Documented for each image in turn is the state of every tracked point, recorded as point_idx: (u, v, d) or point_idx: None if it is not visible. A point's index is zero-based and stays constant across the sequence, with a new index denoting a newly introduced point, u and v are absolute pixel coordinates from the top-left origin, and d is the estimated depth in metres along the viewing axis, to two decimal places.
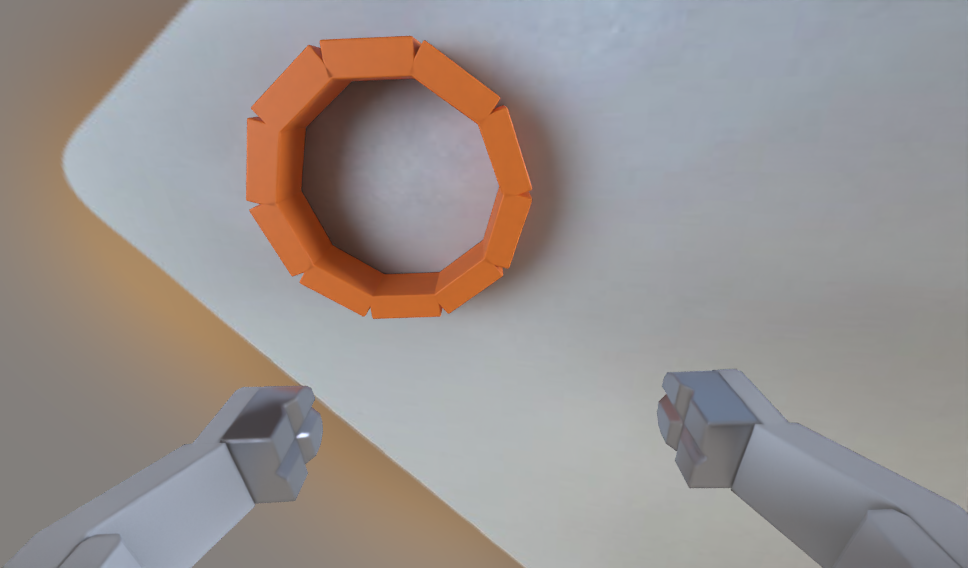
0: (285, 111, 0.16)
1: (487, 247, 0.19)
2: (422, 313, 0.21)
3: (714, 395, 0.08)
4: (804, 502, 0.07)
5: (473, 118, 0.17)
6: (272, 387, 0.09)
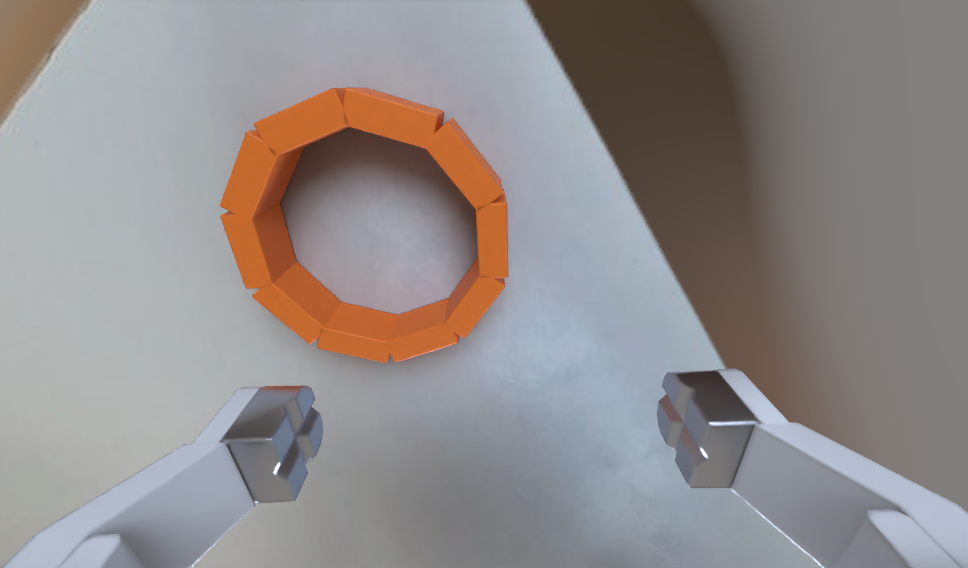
0: (446, 159, 0.16)
1: (336, 330, 0.20)
2: (244, 271, 0.18)
3: (714, 395, 0.08)
4: (804, 501, 0.07)
5: (448, 320, 0.20)
6: (272, 387, 0.09)
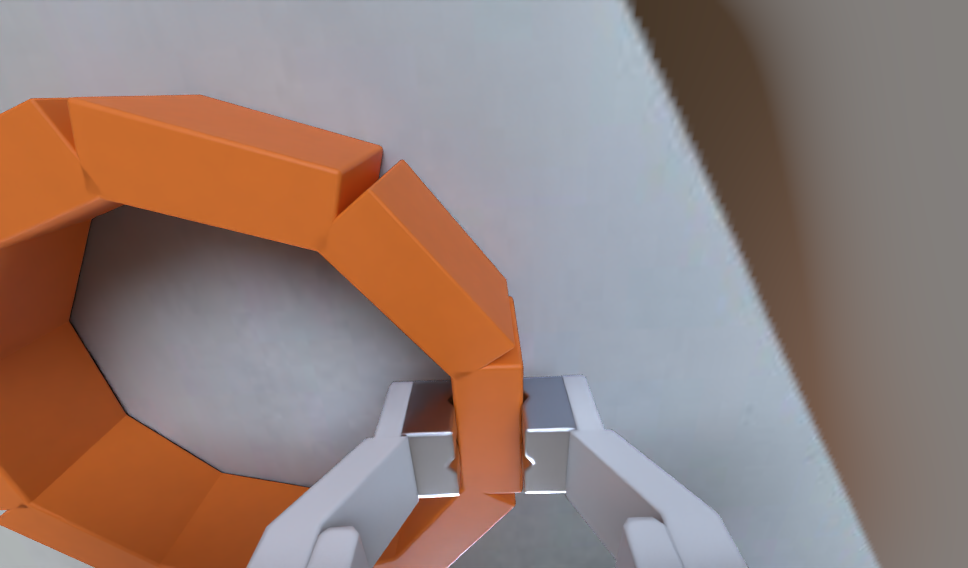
0: (372, 276, 0.06)
1: None
2: None
3: (546, 401, 0.08)
4: (607, 508, 0.07)
5: (403, 553, 0.10)
6: (423, 381, 0.09)
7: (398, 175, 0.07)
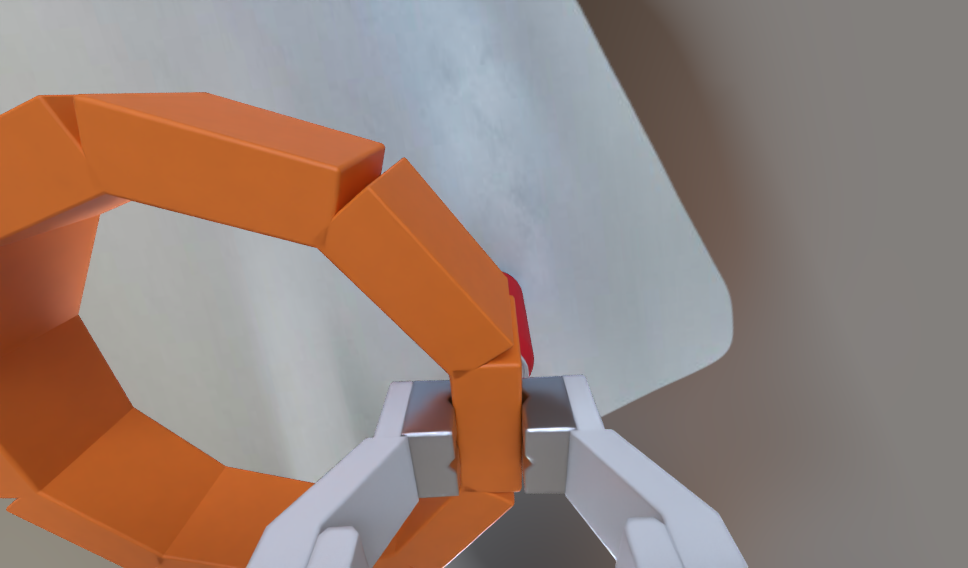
0: (371, 273, 0.06)
1: (187, 559, 0.10)
2: None
3: (546, 401, 0.08)
4: (607, 508, 0.07)
5: (402, 550, 0.10)
6: (423, 381, 0.09)
7: (399, 173, 0.07)
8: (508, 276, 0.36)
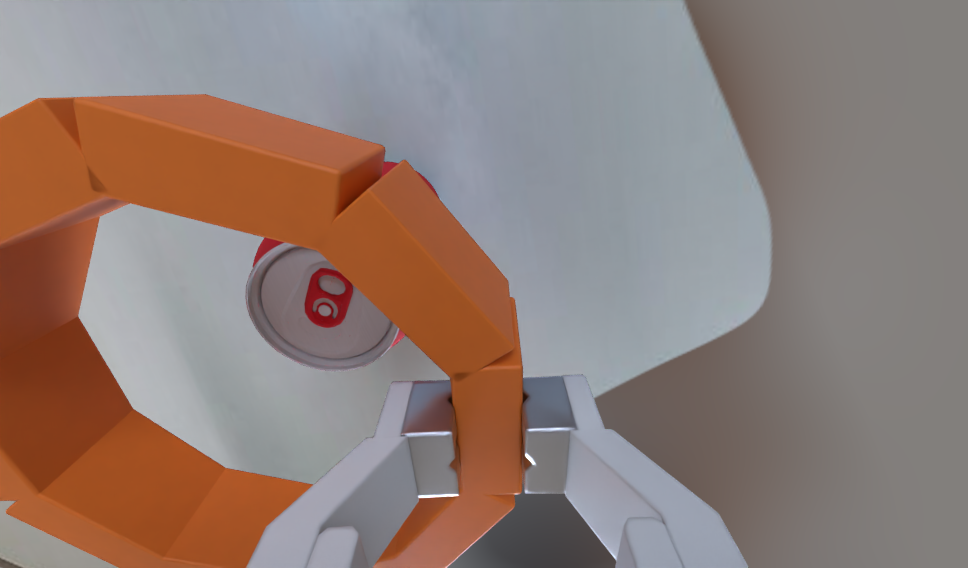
0: (372, 276, 0.06)
1: (187, 561, 0.10)
2: None
3: (546, 401, 0.08)
4: (607, 508, 0.07)
5: (402, 552, 0.10)
6: (423, 381, 0.09)
7: (399, 175, 0.07)
8: None
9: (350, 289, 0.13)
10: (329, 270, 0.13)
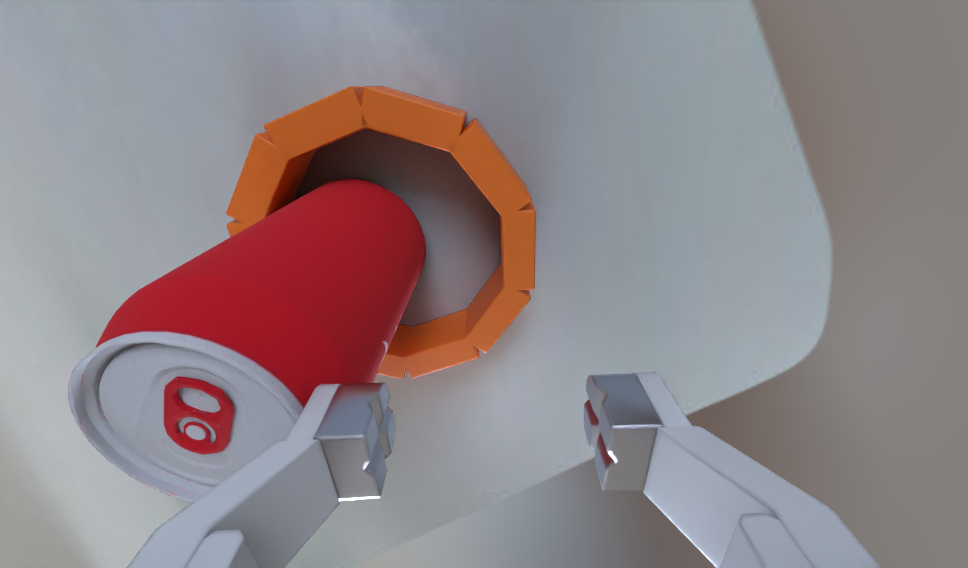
0: (471, 163, 0.15)
1: None
2: None
3: (626, 398, 0.08)
4: (701, 505, 0.07)
5: (469, 334, 0.19)
6: (350, 384, 0.09)
7: (478, 123, 0.16)
8: (386, 193, 0.17)
9: (230, 405, 0.08)
10: (190, 381, 0.08)
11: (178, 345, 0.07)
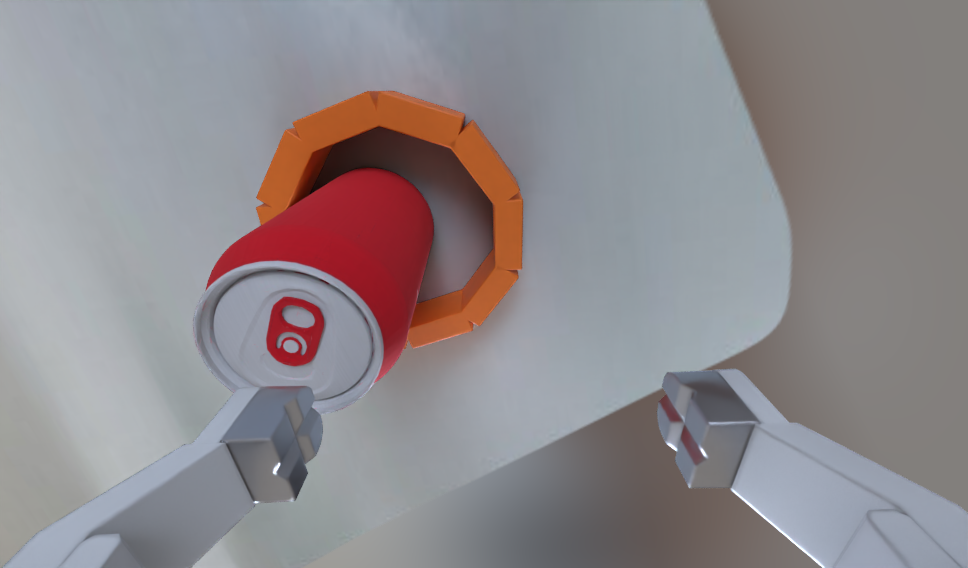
0: (469, 158, 0.18)
1: None
2: None
3: (714, 395, 0.08)
4: (804, 501, 0.07)
5: (464, 308, 0.21)
6: (272, 387, 0.09)
7: (474, 124, 0.18)
8: (400, 178, 0.20)
9: (321, 320, 0.11)
10: (294, 300, 0.10)
11: (291, 268, 0.10)
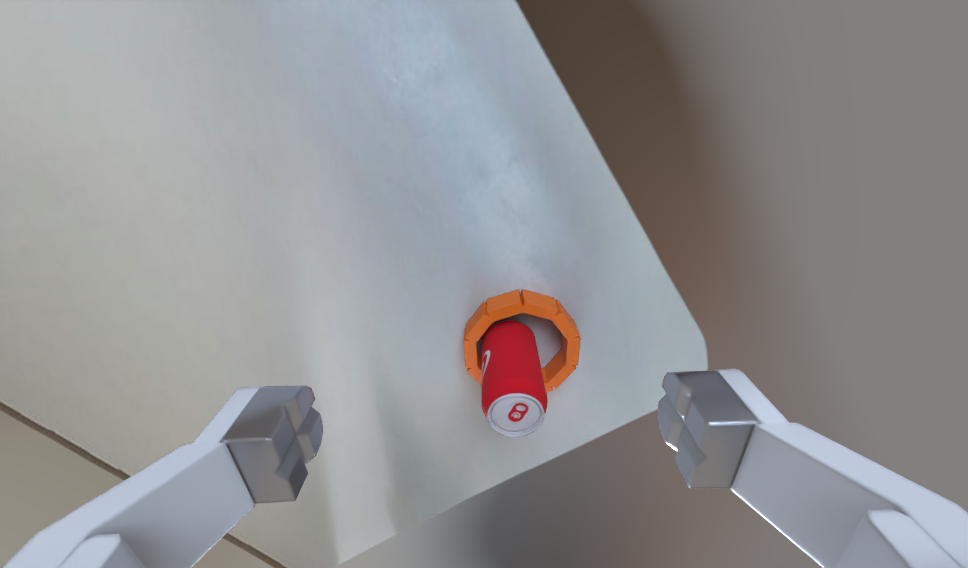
0: (558, 323, 0.42)
1: None
2: (467, 361, 0.44)
3: (714, 395, 0.08)
4: (804, 501, 0.07)
5: (550, 381, 0.45)
6: (271, 387, 0.09)
7: (559, 305, 0.42)
8: (524, 326, 0.43)
9: (527, 409, 0.35)
10: (521, 404, 0.34)
11: (524, 396, 0.34)
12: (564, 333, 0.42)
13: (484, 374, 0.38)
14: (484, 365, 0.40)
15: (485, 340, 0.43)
